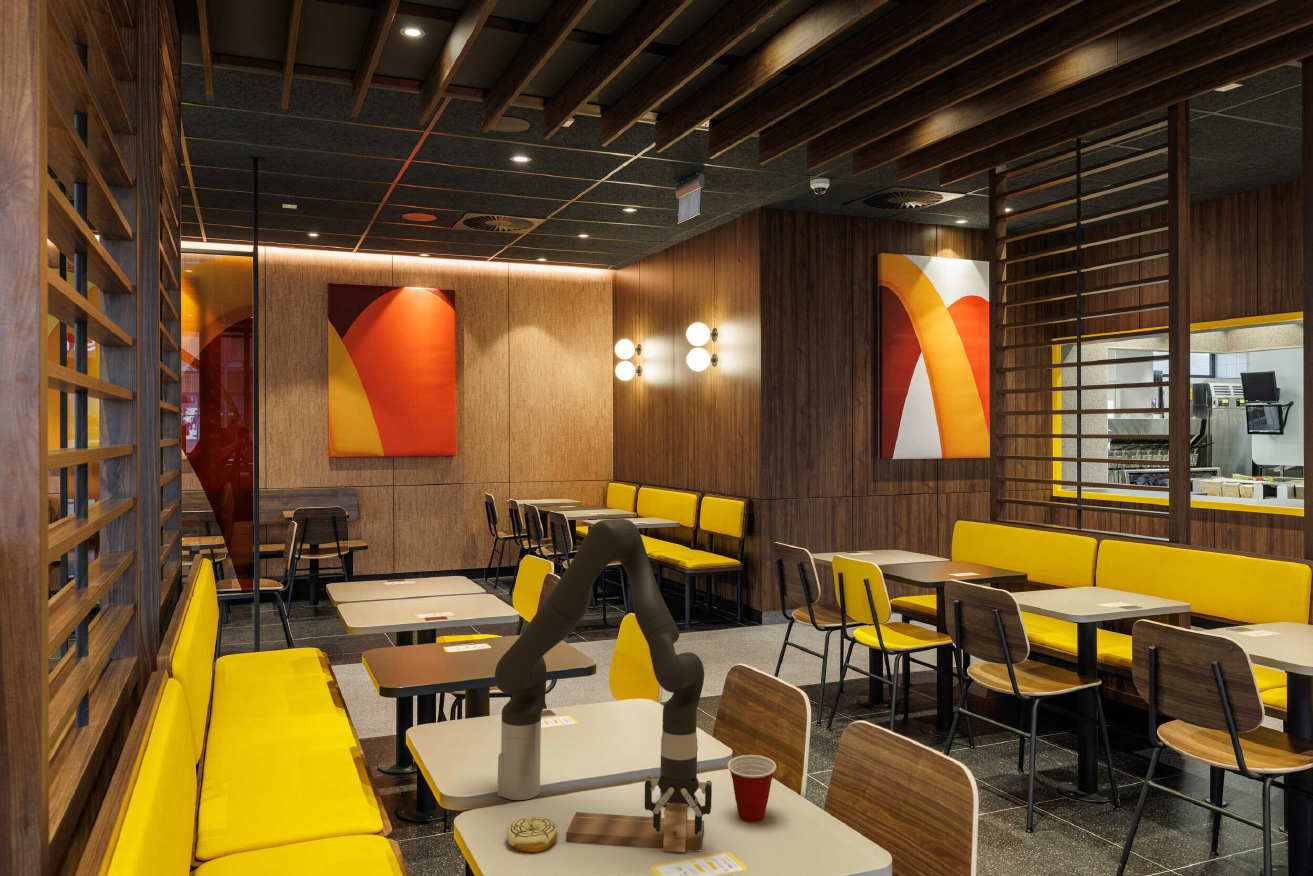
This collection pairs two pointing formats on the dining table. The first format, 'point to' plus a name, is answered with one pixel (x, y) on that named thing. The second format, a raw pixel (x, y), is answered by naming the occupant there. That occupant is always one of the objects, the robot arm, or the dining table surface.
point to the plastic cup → (751, 785)
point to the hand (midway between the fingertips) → (677, 831)
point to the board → (625, 831)
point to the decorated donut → (532, 834)
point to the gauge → (675, 827)
